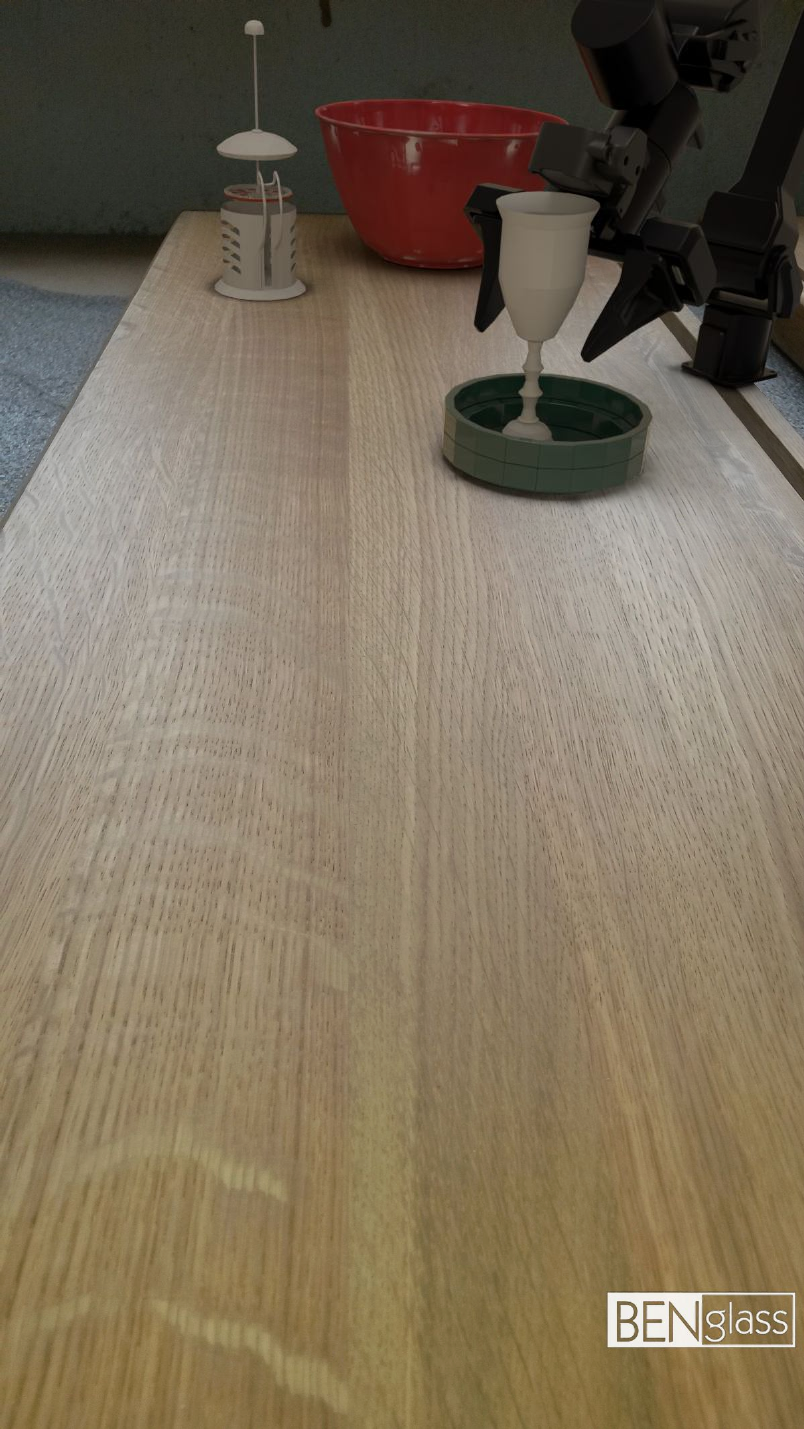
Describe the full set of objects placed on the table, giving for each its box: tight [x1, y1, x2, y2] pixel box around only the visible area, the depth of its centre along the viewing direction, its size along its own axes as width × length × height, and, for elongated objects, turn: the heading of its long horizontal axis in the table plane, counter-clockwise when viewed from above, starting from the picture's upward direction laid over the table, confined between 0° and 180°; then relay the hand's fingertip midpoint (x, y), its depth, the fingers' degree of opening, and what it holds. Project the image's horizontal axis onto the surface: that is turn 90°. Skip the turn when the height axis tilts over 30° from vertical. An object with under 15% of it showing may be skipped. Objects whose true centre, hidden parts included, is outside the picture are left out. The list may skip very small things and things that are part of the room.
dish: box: [441, 372, 654, 495], centre depth 92 cm, size 15×15×4 cm
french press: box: [214, 19, 307, 301], centre depth 123 cm, size 10×12×25 cm
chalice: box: [496, 191, 600, 441], centre depth 87 cm, size 7×7×18 cm
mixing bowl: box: [314, 98, 570, 270], centre depth 141 cm, size 28×28×16 cm
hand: (529, 343), depth 86 cm, fingers open, 9 cm apart
